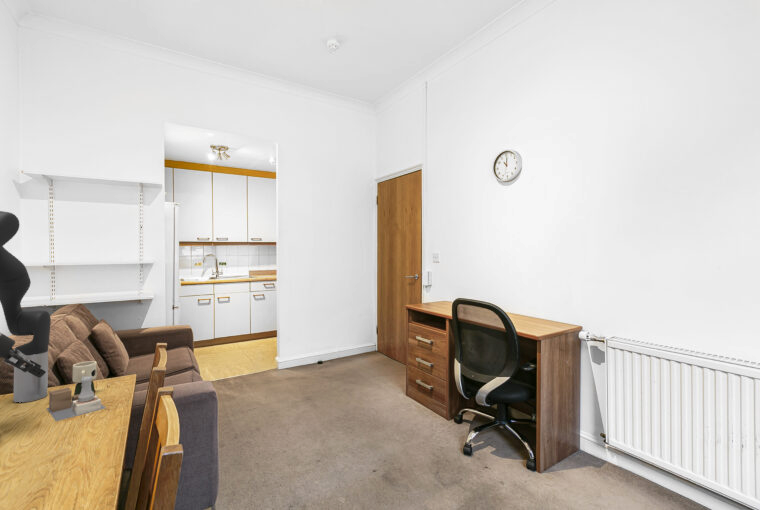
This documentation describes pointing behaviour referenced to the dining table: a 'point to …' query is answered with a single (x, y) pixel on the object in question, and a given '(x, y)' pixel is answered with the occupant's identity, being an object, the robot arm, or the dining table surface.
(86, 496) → the dining table surface
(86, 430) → the dining table surface
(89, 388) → the rook chess piece
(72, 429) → the dining table surface
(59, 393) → the walnut castle blocks
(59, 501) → the dining table surface
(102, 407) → the baseplate
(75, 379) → the character mug
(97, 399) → the white square block
